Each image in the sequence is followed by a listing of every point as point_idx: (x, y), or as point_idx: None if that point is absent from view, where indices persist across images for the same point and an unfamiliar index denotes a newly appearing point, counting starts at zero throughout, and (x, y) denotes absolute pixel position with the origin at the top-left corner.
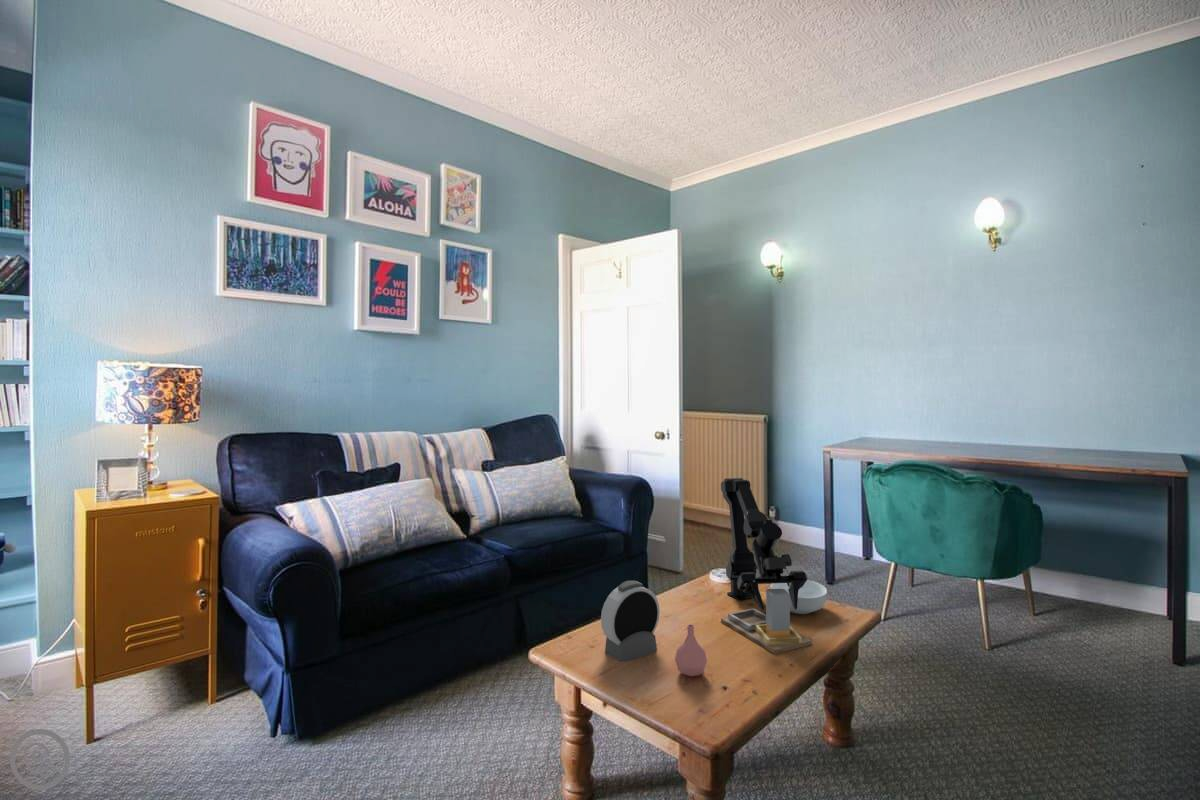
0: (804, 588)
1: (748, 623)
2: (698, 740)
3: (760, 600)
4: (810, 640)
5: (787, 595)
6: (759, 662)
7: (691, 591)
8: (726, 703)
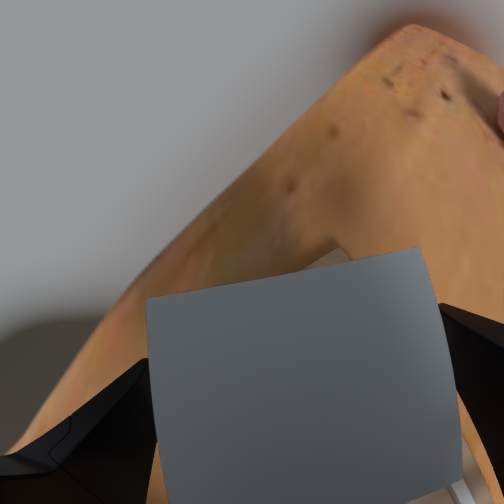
0: None
1: (407, 502)
2: (431, 29)
3: (488, 326)
4: None
5: (184, 296)
6: (392, 190)
7: None
8: (426, 65)
